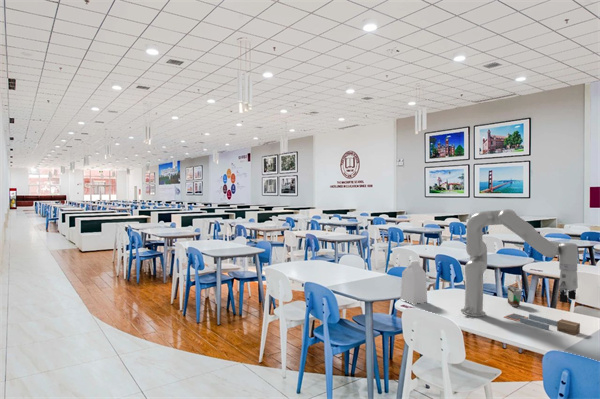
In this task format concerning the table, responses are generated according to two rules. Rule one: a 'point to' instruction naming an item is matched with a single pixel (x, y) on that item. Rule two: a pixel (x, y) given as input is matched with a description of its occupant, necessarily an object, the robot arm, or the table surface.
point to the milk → (414, 284)
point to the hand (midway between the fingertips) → (567, 300)
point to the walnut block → (568, 327)
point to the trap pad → (514, 317)
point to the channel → (538, 324)
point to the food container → (514, 296)
